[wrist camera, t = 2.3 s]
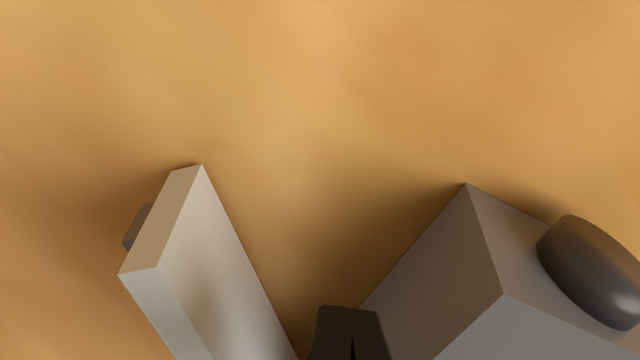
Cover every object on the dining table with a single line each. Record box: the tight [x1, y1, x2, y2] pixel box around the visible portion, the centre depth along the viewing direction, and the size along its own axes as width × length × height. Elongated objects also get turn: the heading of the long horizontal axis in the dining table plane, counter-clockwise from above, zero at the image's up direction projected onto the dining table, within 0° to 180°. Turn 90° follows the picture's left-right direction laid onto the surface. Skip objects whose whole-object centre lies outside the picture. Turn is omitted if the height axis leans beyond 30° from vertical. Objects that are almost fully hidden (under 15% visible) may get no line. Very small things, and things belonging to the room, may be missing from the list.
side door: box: [117, 164, 298, 360], centre depth 16 cm, size 10×2×4 cm, turn 17°
